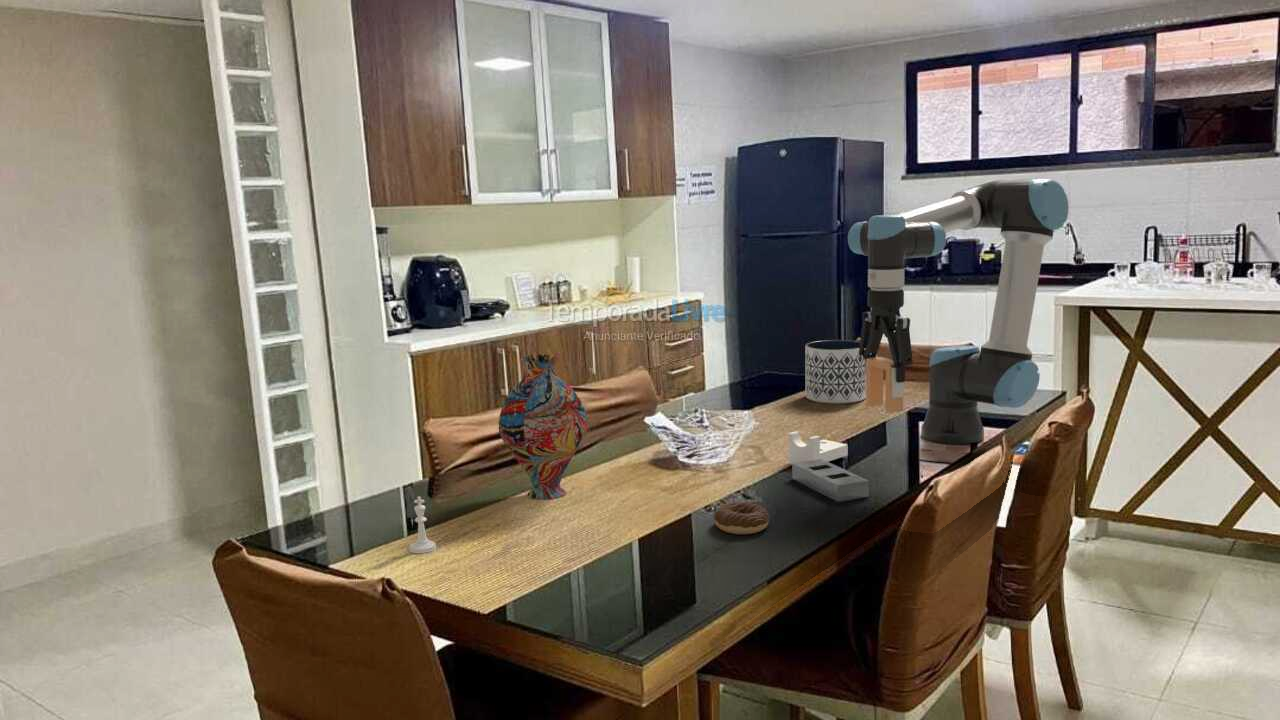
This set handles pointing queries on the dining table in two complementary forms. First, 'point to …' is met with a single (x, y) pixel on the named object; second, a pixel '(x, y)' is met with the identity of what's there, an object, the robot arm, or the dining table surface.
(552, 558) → the dining table surface
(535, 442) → the vase
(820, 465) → the grey slotted block
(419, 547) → the chess piece
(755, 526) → the donut
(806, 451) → the bracket
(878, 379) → the clip
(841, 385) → the planter
